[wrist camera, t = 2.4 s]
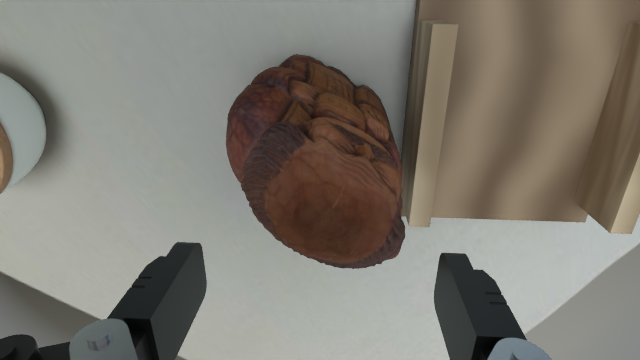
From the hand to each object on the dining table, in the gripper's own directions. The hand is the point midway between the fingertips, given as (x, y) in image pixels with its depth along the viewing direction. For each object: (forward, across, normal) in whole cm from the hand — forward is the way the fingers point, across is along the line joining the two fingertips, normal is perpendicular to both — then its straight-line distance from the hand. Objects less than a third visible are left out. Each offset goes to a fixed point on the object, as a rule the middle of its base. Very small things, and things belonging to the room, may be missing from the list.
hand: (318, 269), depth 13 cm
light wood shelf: (+21, -14, 0) cm, 25 cm away
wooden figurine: (+22, 0, 0) cm, 22 cm away
